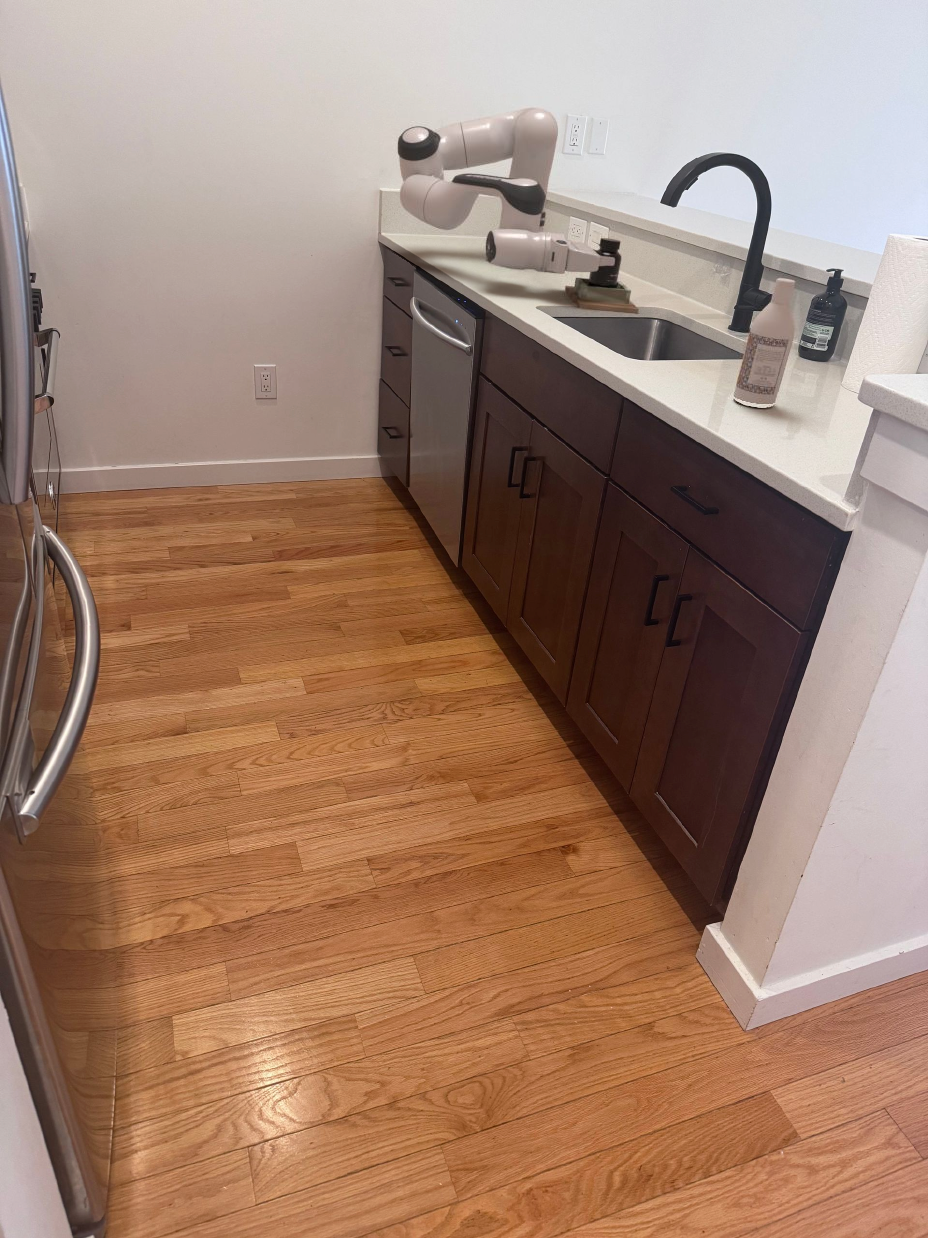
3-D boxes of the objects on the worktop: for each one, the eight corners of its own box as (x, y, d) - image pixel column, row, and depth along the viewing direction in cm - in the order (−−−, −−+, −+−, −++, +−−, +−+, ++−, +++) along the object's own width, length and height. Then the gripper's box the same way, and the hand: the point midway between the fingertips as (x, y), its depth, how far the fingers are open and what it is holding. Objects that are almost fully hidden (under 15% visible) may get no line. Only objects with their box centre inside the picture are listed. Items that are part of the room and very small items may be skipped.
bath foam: (742, 394, 154) (774, 273, 143) (780, 404, 150) (815, 282, 140) (725, 401, 149) (756, 276, 139) (763, 412, 145) (798, 285, 135)
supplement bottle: (614, 296, 211) (624, 243, 205) (586, 292, 212) (595, 238, 206) (615, 291, 217) (625, 239, 211) (588, 287, 218) (597, 235, 212)
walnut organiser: (564, 289, 224) (567, 273, 222) (618, 294, 226) (621, 278, 224) (579, 308, 206) (582, 290, 204) (638, 313, 207) (641, 295, 205)
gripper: (546, 259, 220) (600, 264, 221) (558, 274, 202) (616, 280, 204) (549, 232, 217) (604, 237, 218) (562, 245, 199) (622, 251, 201)
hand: (610, 258), depth 211 cm, fingers closed on supplement bottle, 7 cm apart
